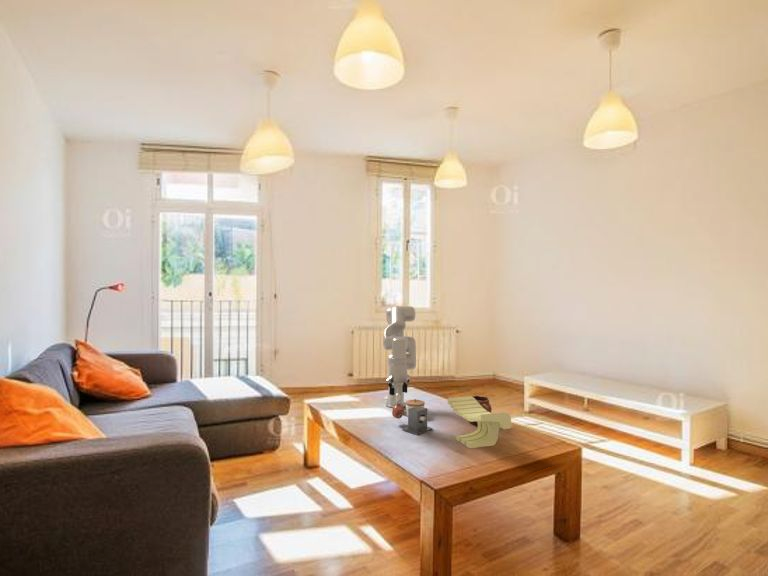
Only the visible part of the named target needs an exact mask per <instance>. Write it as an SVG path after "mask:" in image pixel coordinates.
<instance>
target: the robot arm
mask: <svg viewBox="0 0 768 576" xmlns="http://www.w3.org/2000/svg"><path fill="white" fill-rule="evenodd" d="M385 316H386V322H387V324H388V326H387V327H386V328H385V329H384V331H383V334H382V346H383V349H384V350H387V351H391V354H389V355H388V356H387V360H386V361H387V368H388V378H387V379H385V380H386V383H387V386H388V395H386V396H385V397H384V400H386V402H385V406H386V407H388V408H392V409H393V408H394V406H395V405H396V394H397V393H400V394H401V406H403V408H406V401H405V394H407V393H408V386H409V383H410V379H411V375H409V374H408V370H409V371H412V370H415V369H416V366H417V343H416V339H415V338H414V337H413V336H405V335H404V332H405V329H406V326H407V325H406V322H410V323H411V322H413V321H414V320H415V319H416V310H415V308H414V307H413V306H408V305H407V306H403V305H397V306H393V307H389V308H387V309H386V312H385Z"/></svg>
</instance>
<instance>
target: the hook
mask: <svg viewBox="0 0 768 576" xmlns="http://www.w3.org/2000/svg"><path fill="white" fill-rule="evenodd" d="M391 415H392V417H393V418H395V419H399V420H401V418H402V417H407V418H408V412H407V410H406V411H405V407H403V406H401V394H400V393H397V394H396V405H395V406H394V408H392V411H391ZM420 421H422V422H425V421H426V417H423V416H420Z"/></svg>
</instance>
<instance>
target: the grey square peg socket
mask: <svg viewBox="0 0 768 576" xmlns="http://www.w3.org/2000/svg"><path fill="white" fill-rule="evenodd" d="M420 416H423V417H426V421H425V422H422V421H420ZM407 420H408V421H407V426H405V427H403V428H402V431H404V432H406V433H409V434H411V435H415V436H419V435H421V434H425V433H428V432H431V431H433V430H434V428H433V427H430V426H428V408H426V407H425V406H424V407H420V406H417V407H414V408H410V409H408V417H407Z"/></svg>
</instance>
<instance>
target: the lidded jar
mask: <svg viewBox="0 0 768 576" xmlns="http://www.w3.org/2000/svg"><path fill="white" fill-rule="evenodd" d="M425 402H426V401H424V400H420V399H416V398H414V399H408V400H406V401H405V403H406V406H405V410H406V412H408V409H410V408H414V407H417V406H420V407H424V408H425Z"/></svg>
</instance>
